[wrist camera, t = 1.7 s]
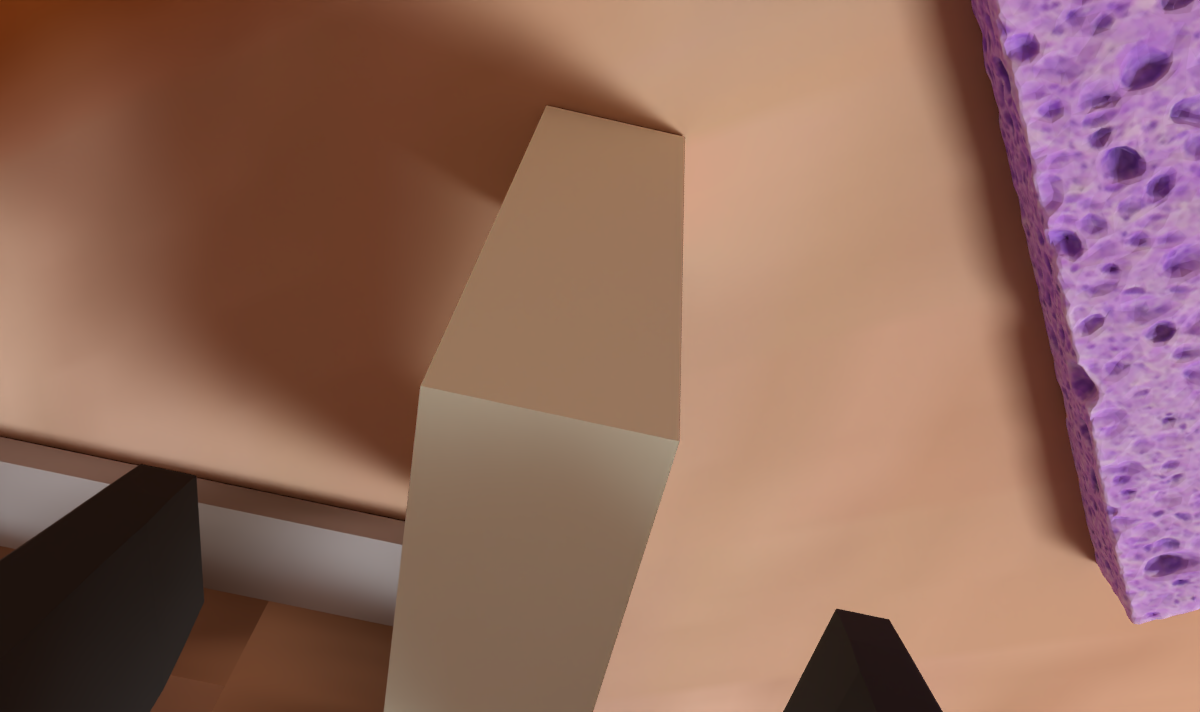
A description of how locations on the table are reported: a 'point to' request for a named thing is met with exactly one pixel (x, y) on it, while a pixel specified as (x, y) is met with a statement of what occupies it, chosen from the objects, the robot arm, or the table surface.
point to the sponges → (1115, 262)
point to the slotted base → (248, 587)
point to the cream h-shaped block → (545, 429)
